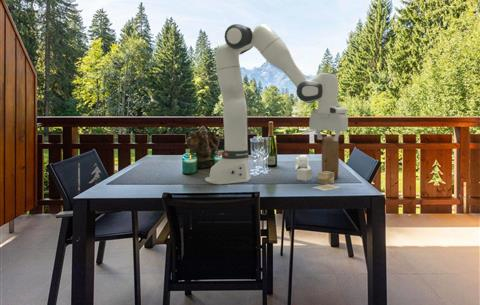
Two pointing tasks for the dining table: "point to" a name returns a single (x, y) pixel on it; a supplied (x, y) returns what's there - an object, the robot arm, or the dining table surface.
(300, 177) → the grey cube
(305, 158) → the white figurine
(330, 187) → the card
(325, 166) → the block
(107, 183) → the dining table surface
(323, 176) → the oak cube
